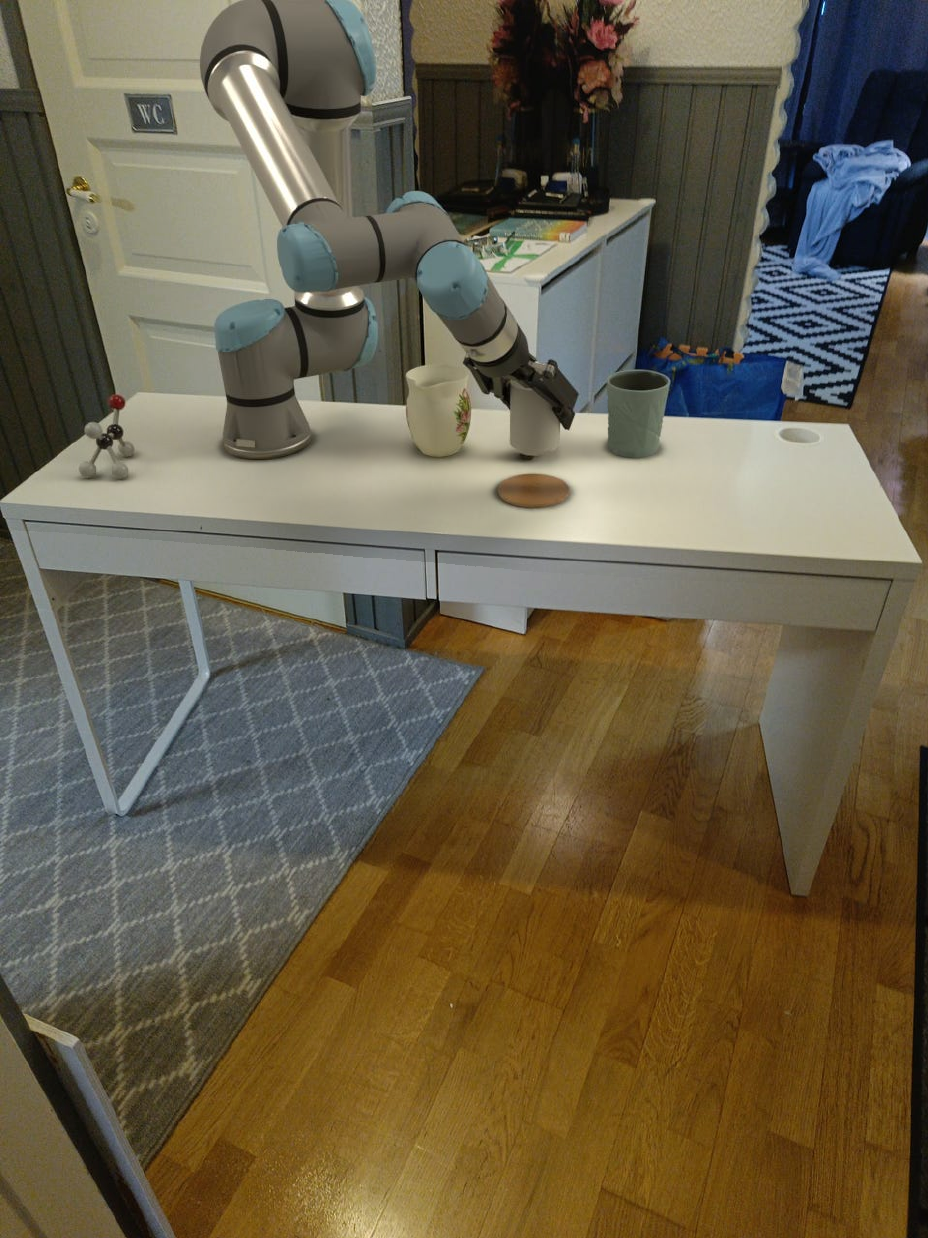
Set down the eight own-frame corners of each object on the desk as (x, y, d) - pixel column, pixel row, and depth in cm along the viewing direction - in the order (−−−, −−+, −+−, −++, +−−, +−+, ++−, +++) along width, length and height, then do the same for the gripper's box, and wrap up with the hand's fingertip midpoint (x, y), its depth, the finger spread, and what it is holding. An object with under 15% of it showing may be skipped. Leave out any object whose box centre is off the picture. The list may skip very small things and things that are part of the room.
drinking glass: (670, 442, 152) (677, 374, 145) (651, 464, 145) (659, 393, 138) (614, 432, 156) (619, 365, 149) (593, 454, 149) (598, 384, 142)
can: (499, 448, 133) (499, 370, 126) (532, 434, 138) (533, 358, 131) (536, 462, 129) (539, 382, 122) (569, 446, 133) (573, 368, 126)
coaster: (492, 479, 141) (492, 476, 141) (559, 473, 143) (559, 470, 142) (505, 510, 132) (505, 507, 132) (576, 504, 134) (576, 501, 133)
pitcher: (484, 429, 158) (483, 353, 151) (458, 471, 144) (456, 389, 136) (426, 424, 161) (422, 349, 153) (395, 465, 147) (389, 384, 139)
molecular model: (78, 480, 145) (60, 418, 139) (110, 450, 154) (94, 391, 148) (126, 481, 144) (109, 419, 138) (155, 451, 154) (141, 392, 148)
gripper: (415, 352, 117) (479, 426, 138) (552, 376, 108) (598, 452, 129) (436, 302, 118) (496, 383, 138) (573, 322, 109) (616, 405, 129)
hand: (545, 416), depth 134 cm, fingers closed on can, 7 cm apart
